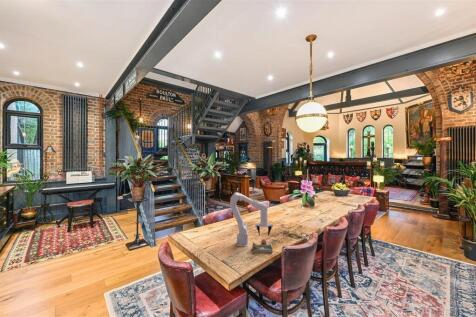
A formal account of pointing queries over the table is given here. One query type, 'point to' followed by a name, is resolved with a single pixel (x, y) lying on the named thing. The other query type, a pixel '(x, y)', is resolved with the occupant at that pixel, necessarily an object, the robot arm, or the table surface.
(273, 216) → the table surface
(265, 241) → the brick-red rubber ball
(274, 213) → the table surface
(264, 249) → the slate lane
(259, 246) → the walnut step ramp
